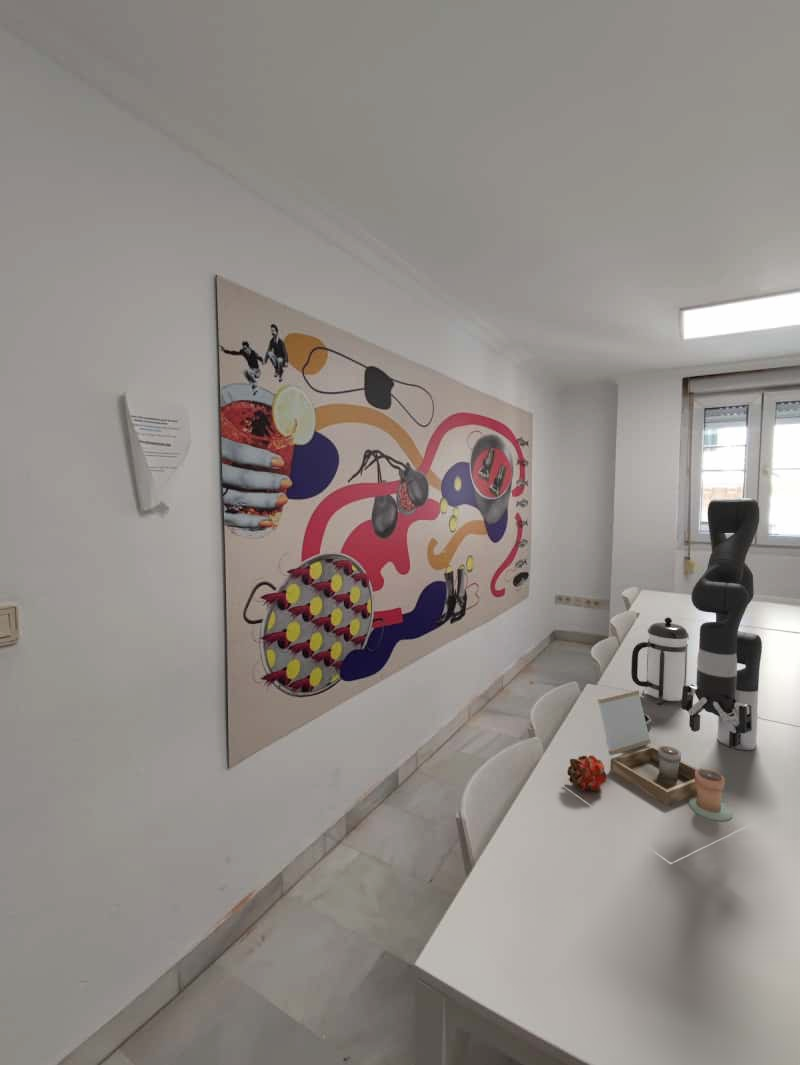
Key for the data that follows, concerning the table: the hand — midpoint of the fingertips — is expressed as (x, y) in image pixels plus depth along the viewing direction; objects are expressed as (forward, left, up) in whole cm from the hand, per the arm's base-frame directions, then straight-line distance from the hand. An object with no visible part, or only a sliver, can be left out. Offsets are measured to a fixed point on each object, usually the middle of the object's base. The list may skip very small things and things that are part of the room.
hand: (713, 738), depth 109 cm
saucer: (0, 0, -17) cm, 17 cm away
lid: (0, -23, -6) cm, 24 cm away
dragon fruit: (+19, -19, -17) cm, 32 cm away
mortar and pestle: (-13, -31, -17) cm, 38 cm away
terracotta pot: (0, 0, -16) cm, 16 cm away
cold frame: (0, -16, -17) cm, 23 cm away
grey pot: (-4, -13, -17) cm, 21 cm away
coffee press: (-47, -46, -17) cm, 68 cm away
